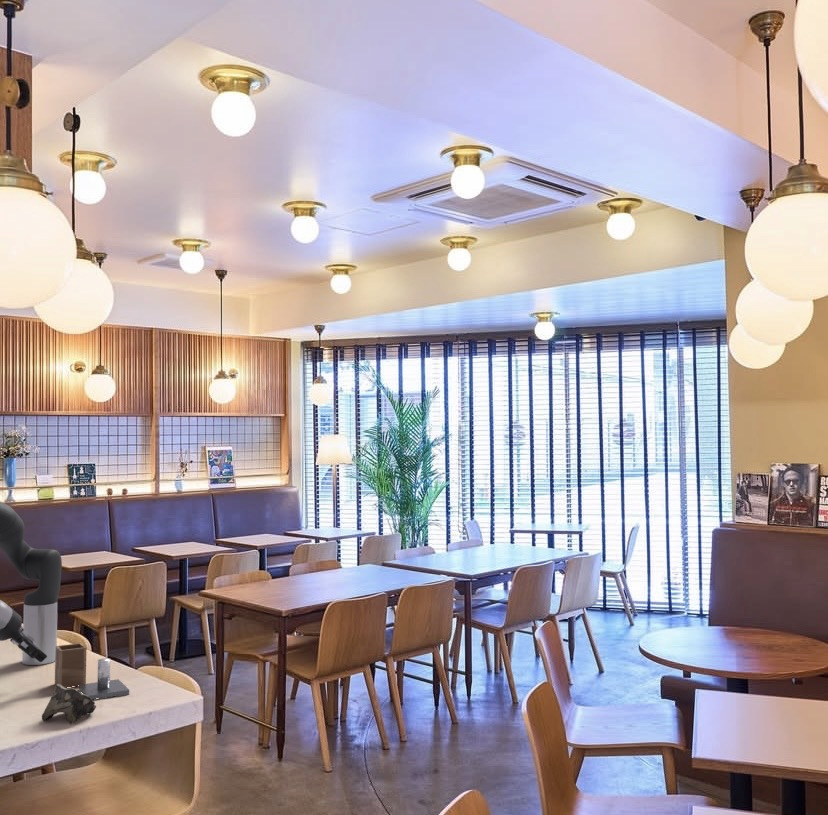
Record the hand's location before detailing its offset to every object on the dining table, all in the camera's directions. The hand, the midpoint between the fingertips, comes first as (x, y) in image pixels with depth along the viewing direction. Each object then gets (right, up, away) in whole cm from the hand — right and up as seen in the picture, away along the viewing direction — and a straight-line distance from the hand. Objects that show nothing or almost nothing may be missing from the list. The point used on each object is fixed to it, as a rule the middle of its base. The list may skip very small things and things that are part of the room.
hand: (37, 650), depth 217 cm
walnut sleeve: (+8, -9, +1) cm, 13 cm away
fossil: (+20, -8, -26) cm, 34 cm away
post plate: (+20, -9, -6) cm, 22 cm away
